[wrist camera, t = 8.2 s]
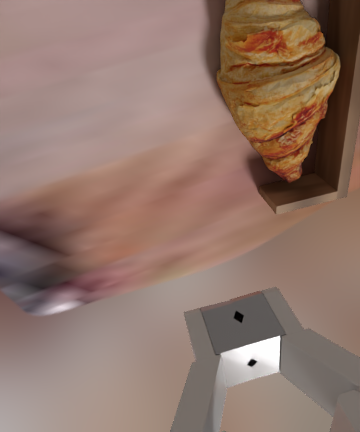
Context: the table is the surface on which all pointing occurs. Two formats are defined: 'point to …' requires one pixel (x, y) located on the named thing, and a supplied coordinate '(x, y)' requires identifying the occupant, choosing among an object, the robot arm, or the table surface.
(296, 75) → the croissant
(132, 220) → the table surface
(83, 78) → the table surface
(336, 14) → the frame
